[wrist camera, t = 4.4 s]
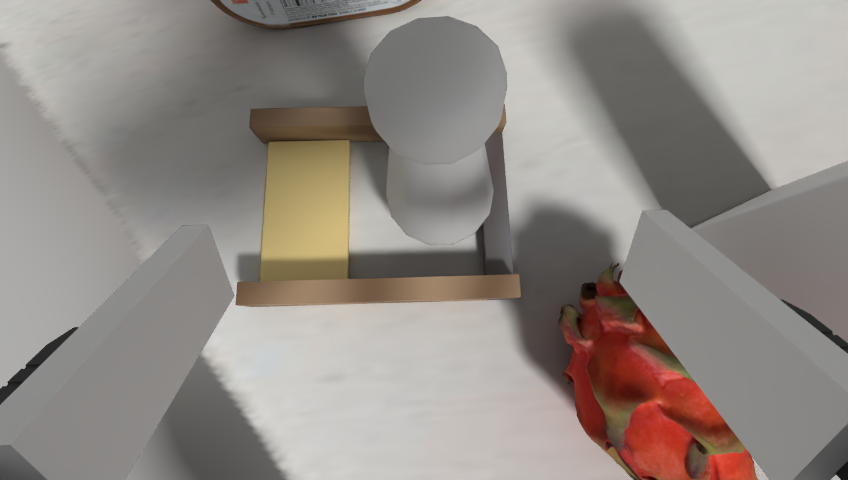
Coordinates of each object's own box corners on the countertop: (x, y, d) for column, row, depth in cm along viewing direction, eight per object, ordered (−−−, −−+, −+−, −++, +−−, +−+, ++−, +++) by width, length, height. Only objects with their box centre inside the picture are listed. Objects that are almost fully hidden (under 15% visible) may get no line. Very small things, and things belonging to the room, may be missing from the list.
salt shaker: (377, 229, 23) (290, 113, 10) (416, 148, 24) (382, -48, 11) (466, 268, 22) (491, 195, 9) (503, 183, 23) (572, 13, 10)
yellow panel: (350, 143, 24) (349, 139, 24) (348, 281, 22) (347, 280, 22) (271, 144, 24) (268, 141, 24) (262, 283, 22) (259, 283, 22)
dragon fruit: (572, 260, 24) (642, 442, 24) (491, 305, 19) (580, 545, 18) (734, 220, 18) (837, 468, 17) (687, 270, 12) (837, 641, 12)
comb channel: (498, 121, 24) (504, 103, 23) (512, 299, 22) (520, 296, 20) (264, 126, 24) (250, 108, 22) (252, 306, 22) (235, 305, 20)
